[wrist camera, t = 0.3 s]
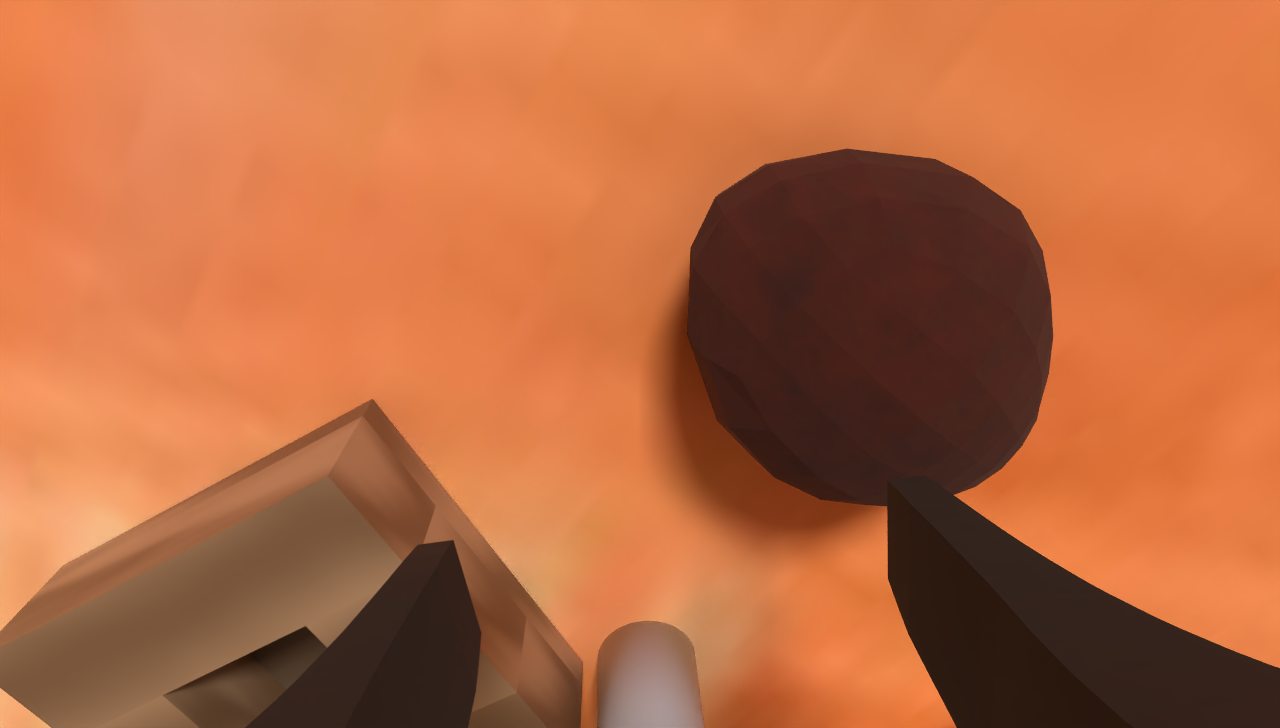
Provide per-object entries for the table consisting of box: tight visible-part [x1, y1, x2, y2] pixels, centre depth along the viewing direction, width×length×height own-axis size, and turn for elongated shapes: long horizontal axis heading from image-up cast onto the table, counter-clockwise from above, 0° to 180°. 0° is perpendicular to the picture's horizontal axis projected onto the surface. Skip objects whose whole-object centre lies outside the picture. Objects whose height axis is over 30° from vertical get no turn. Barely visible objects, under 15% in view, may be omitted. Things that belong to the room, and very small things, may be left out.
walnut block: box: [0, 399, 583, 728], centre depth 24 cm, size 12×12×4 cm
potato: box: [687, 149, 1053, 506], centre depth 18 cm, size 8×9×8 cm
